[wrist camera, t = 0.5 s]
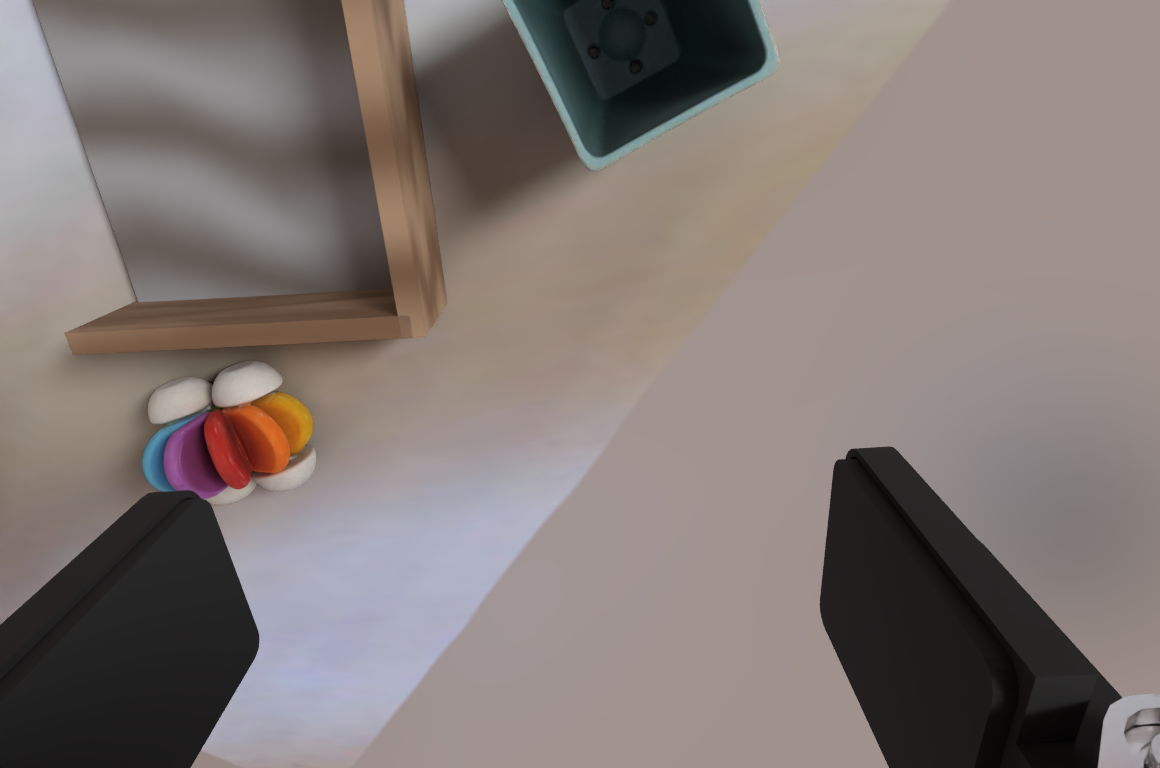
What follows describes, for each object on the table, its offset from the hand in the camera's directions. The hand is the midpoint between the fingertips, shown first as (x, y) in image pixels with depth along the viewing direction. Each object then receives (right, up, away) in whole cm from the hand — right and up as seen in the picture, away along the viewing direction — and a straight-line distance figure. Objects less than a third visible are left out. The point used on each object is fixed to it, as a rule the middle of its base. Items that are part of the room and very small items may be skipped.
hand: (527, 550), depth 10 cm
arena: (-17, +16, +25) cm, 34 cm away
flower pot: (+3, +20, +23) cm, 31 cm away
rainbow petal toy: (-21, 0, +32) cm, 38 cm away
